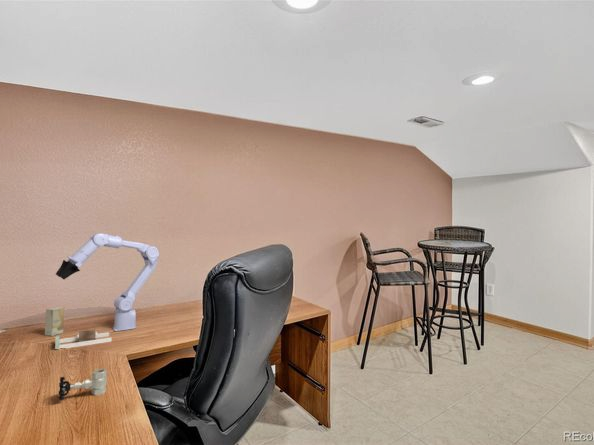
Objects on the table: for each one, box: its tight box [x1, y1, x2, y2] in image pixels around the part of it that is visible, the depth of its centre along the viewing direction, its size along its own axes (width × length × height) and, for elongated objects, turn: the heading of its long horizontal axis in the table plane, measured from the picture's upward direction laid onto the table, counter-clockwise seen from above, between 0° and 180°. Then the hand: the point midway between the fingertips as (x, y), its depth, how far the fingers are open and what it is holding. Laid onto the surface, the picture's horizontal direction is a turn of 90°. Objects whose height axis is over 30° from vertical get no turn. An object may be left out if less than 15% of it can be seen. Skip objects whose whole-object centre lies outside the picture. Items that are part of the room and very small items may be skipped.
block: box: [78, 329, 96, 342], centre depth 150 cm, size 6×5×4 cm
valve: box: [58, 368, 108, 401], centre depth 102 cm, size 7×7×12 cm
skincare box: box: [44, 306, 65, 337], centre depth 160 cm, size 6×4×12 cm
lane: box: [54, 330, 113, 350], centre depth 151 cm, size 20×15×3 cm
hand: (59, 276), depth 152 cm, fingers open, 7 cm apart
